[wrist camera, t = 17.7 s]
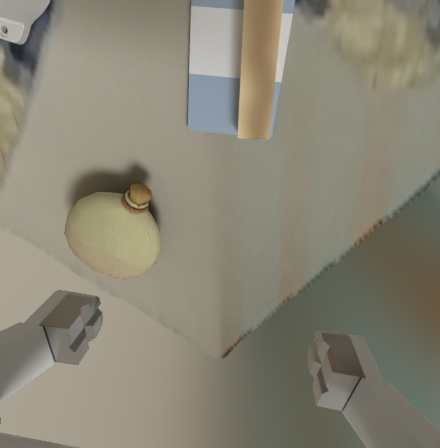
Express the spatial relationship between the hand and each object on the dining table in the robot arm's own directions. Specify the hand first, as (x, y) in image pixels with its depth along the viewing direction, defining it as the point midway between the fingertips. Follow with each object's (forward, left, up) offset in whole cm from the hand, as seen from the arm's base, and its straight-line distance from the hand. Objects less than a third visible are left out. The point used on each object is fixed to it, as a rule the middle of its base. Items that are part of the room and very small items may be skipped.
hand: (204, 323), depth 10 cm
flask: (-18, -14, -33) cm, 40 cm away
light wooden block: (+1, +12, -32) cm, 34 cm away
